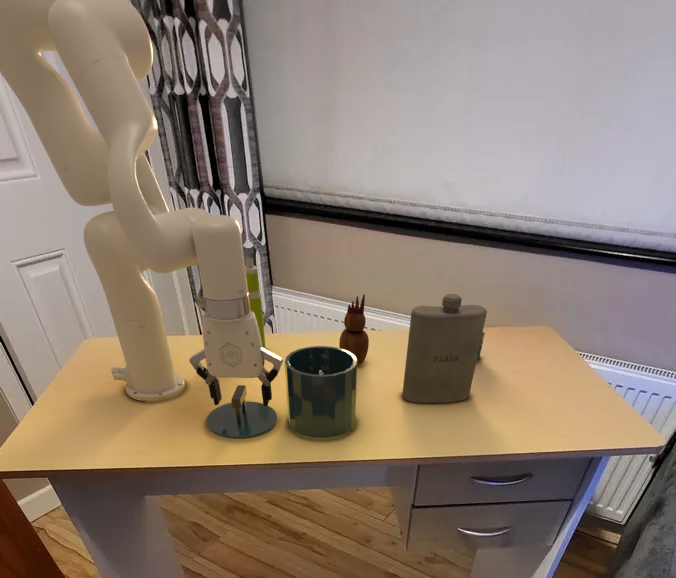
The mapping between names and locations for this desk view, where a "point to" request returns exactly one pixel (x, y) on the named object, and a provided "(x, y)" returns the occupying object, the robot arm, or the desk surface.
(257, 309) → the vape
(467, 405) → the desk surface
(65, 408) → the desk surface
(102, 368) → the desk surface
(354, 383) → the pot
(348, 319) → the wooden figurine
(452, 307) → the flask
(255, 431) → the lid
